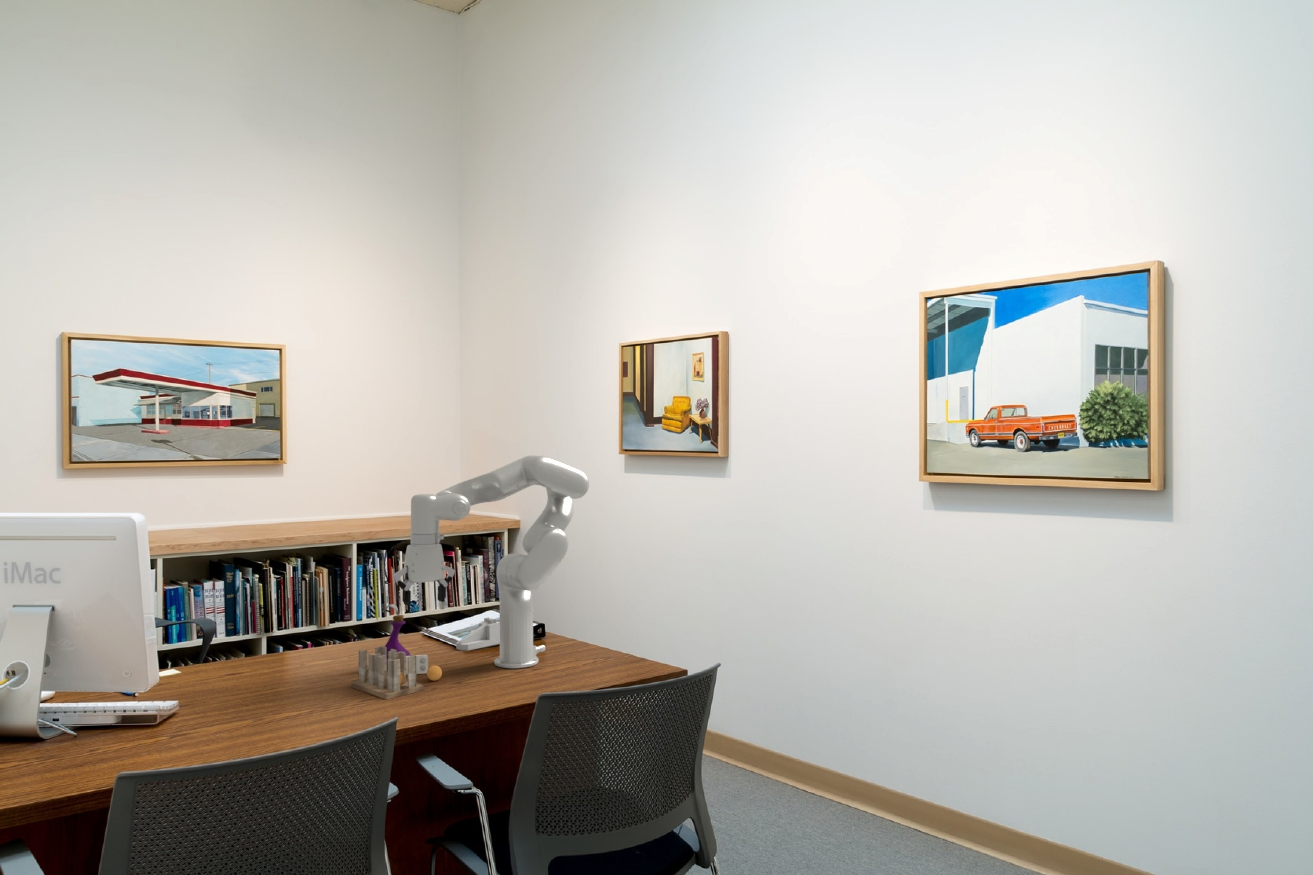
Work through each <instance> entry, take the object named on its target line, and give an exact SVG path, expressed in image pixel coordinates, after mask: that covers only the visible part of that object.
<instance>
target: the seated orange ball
mask: <svg viewBox="0 0 1313 875" xmlns="http://www.w3.org/2000/svg"><path fill="white" fill-rule="evenodd" d="M404 682H405V676H404V674H403V673H402V672H400V686H402V685H403V683H404Z"/></svg>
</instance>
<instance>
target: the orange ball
mask: <svg viewBox="0 0 1313 875" xmlns="http://www.w3.org/2000/svg"><path fill="white" fill-rule="evenodd" d="M442 675H443V671H442V668H441V667H440V666H438V665H437V664H436V665H434V664H433V665H431V666H429V667H428V670H427V673H426V677H427V678H428V680H430V681H433V682H434V681H435V682H436V681H439V680H440V679H441V677H442Z"/></svg>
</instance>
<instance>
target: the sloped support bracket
mask: <svg viewBox="0 0 1313 875" xmlns="http://www.w3.org/2000/svg"><path fill="white" fill-rule="evenodd" d="M496 645H500V618H493V617H492V618H490V617H484V618H483V620H481V621H480V622H479V623H478V627H477V628H476V629H474V630H473V631H471V632H470V633H469V634H467V635H465V636H464V637H463V638H461V639H460V640H459V641H457V642H456V645H455V647H456V650H458V651H463V652H465V651H473V650H478V649H483V648H487V647H490V646H496Z"/></svg>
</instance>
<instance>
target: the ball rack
mask: <svg viewBox="0 0 1313 875" xmlns="http://www.w3.org/2000/svg"><path fill="white" fill-rule="evenodd" d="M409 656H410V657H408V675H406V653H405V652H397V650H394V649H390V651H388V670H387V647H385V646H383V645H381V646H377V647H374V654H373V653H368V649H362V650H358V680H356V681H352V682H350V688H353V689H356V690H358V691H361V692H363V693H367V694H369V695H372V696H376V697H378V698H381V699H385V700H391V699H395V698H398V697H402V696H406V695H410V694H412V693H417V692H421V691H424V690H425V685H424V684H421V683H418V682H417V674H416V655H415V654H412V653H410V655H409ZM400 672H402V673H403V674H404V676H405V682H404V683H403V685H402V686H400Z"/></svg>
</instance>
